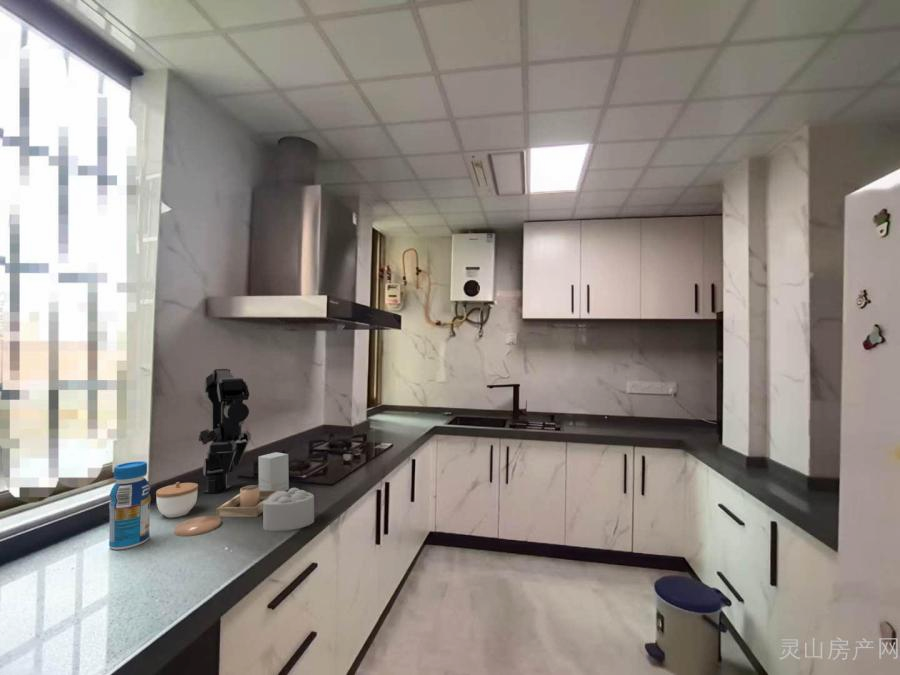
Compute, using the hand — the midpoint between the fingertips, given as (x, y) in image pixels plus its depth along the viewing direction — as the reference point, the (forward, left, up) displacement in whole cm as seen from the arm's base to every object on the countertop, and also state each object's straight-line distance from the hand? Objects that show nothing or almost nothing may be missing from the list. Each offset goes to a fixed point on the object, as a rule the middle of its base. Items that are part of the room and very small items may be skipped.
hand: (231, 469), depth 126 cm
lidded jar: (+2, -16, -13) cm, 20 cm away
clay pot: (-3, +4, -13) cm, 14 cm away
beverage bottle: (+21, -15, -13) cm, 29 cm away
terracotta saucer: (+12, -3, -12) cm, 18 cm away
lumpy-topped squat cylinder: (+10, +22, -13) cm, 28 cm away
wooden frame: (-3, +4, -13) cm, 14 cm away
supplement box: (-18, +5, -13) cm, 23 cm away
